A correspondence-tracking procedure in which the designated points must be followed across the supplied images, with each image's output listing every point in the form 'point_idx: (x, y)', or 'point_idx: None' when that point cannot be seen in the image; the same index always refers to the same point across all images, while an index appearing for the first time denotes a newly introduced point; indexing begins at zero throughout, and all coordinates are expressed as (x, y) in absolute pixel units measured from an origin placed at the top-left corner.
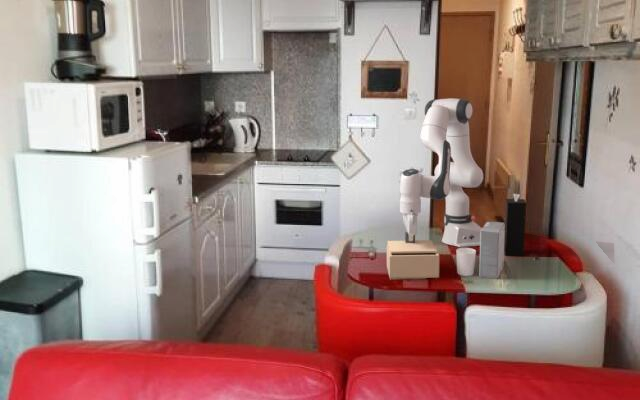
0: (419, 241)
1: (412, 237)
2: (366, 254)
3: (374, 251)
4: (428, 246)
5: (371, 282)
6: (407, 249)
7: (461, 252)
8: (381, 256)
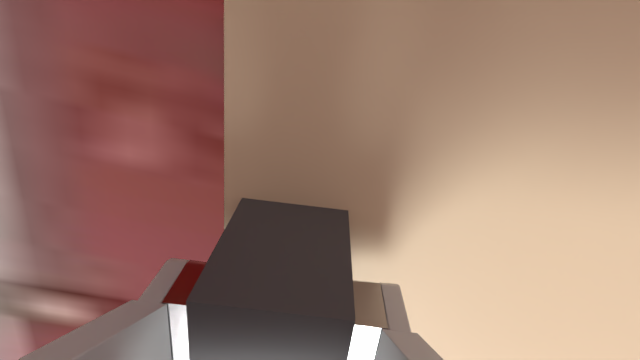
0: (285, 128)
1: (407, 331)
2: (71, 331)
3: (5, 286)
4: (621, 48)
5: None
6: (600, 354)
7: None
8: (100, 269)
